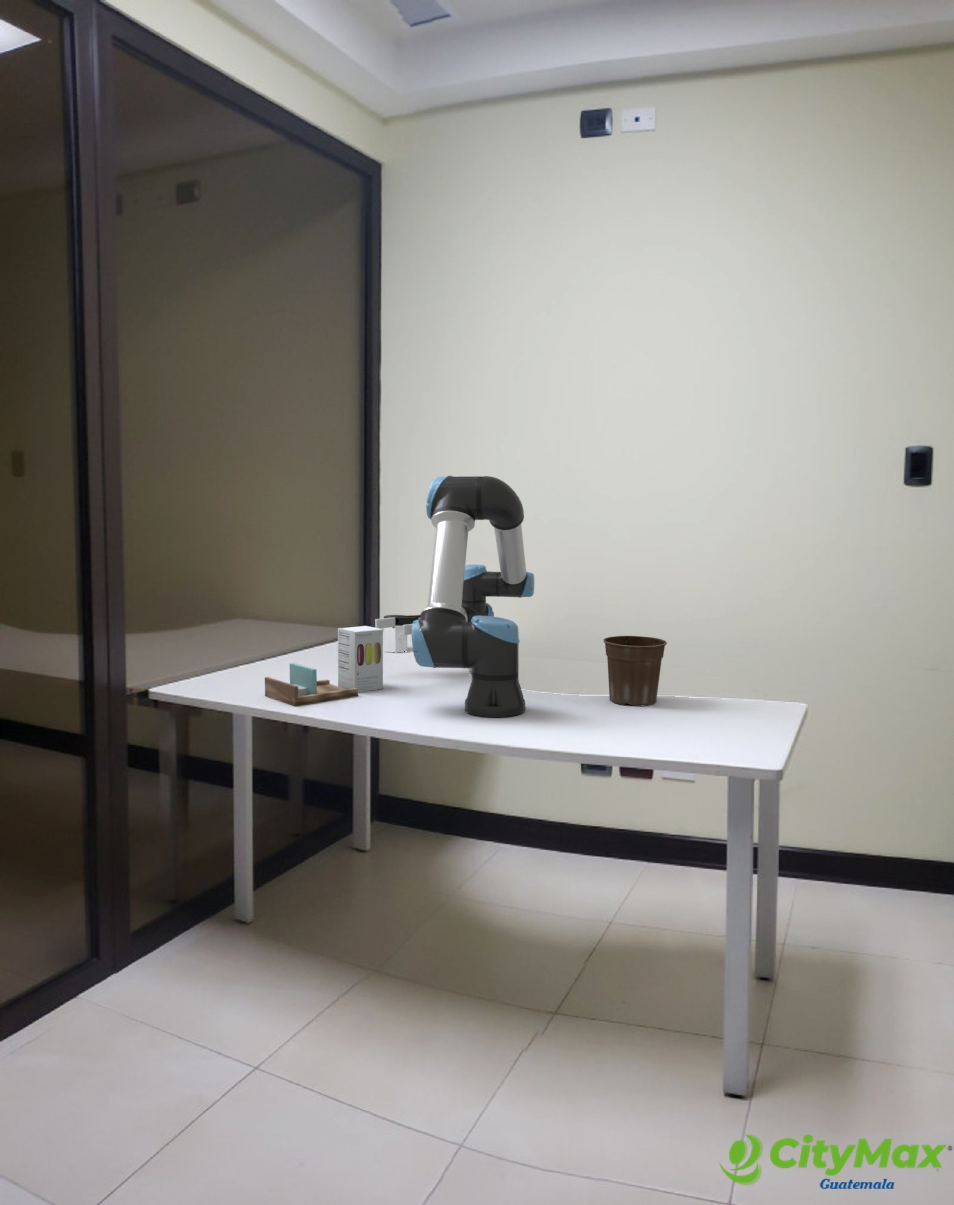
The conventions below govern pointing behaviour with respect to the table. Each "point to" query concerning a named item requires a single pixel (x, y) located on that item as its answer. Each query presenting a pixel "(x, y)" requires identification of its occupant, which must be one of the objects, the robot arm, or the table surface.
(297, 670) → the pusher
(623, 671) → the plant pot
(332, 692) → the lane
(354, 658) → the supplement box
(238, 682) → the table surface
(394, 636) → the jar
